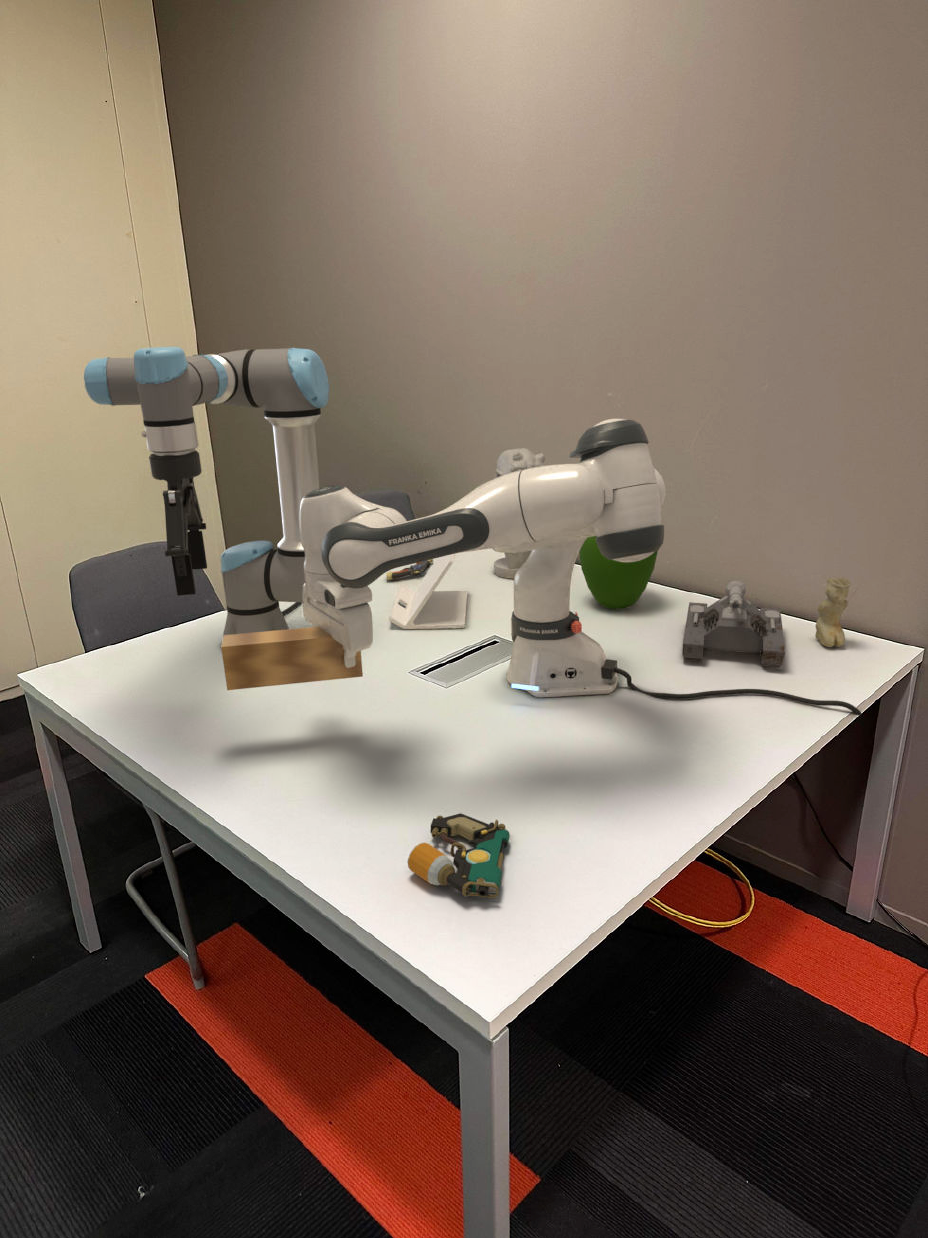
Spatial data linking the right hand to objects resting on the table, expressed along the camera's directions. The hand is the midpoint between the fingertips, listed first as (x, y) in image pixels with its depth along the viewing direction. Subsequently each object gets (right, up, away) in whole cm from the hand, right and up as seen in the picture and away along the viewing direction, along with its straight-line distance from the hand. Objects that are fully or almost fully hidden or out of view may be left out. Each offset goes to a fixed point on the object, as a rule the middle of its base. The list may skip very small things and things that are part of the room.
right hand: (339, 658), depth 148 cm
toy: (+80, +1, +40) cm, 90 cm away
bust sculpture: (+39, +19, +91) cm, 101 cm away
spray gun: (+22, -27, -29) cm, 46 cm away
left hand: (-23, +13, -7) cm, 27 cm away
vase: (+60, +10, +66) cm, 90 cm away
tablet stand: (+13, +9, +66) cm, 68 cm away
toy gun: (+6, +20, +97) cm, 99 cm away
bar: (-7, -3, 0) cm, 8 cm away
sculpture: (+102, +1, +39) cm, 109 cm away
